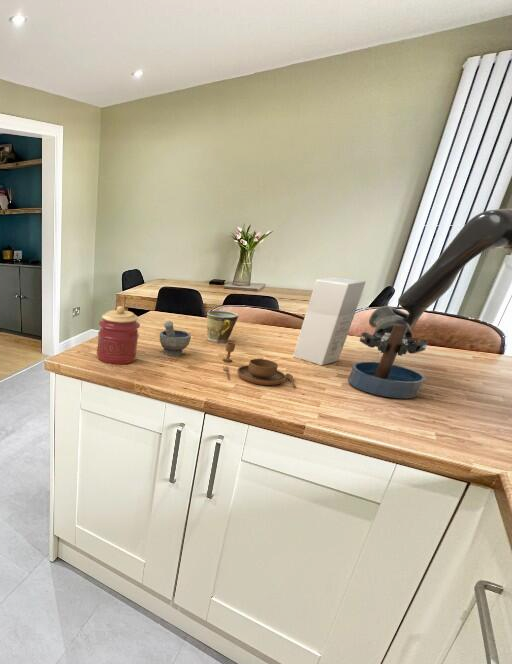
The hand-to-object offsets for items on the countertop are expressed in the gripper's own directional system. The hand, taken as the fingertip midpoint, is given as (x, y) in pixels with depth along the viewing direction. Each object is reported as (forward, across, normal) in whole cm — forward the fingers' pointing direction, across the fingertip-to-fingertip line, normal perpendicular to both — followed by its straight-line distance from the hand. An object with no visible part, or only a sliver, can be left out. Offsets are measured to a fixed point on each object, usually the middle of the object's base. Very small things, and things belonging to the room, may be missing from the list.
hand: (392, 350), depth 101 cm
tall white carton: (-20, -15, +12) cm, 28 cm away
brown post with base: (-3, 0, +10) cm, 10 cm away
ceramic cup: (-21, -44, +12) cm, 50 cm away
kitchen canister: (+17, -66, +12) cm, 69 cm away
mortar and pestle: (+2, -53, +12) cm, 54 cm away
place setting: (+4, -27, +12) cm, 30 cm away
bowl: (-4, +1, +12) cm, 12 cm away
